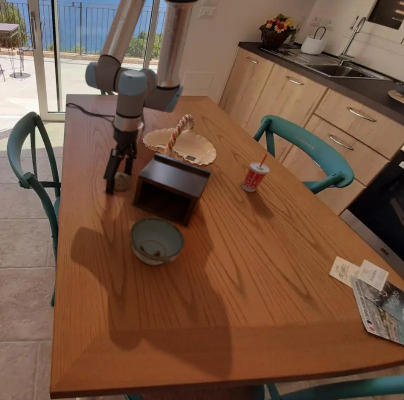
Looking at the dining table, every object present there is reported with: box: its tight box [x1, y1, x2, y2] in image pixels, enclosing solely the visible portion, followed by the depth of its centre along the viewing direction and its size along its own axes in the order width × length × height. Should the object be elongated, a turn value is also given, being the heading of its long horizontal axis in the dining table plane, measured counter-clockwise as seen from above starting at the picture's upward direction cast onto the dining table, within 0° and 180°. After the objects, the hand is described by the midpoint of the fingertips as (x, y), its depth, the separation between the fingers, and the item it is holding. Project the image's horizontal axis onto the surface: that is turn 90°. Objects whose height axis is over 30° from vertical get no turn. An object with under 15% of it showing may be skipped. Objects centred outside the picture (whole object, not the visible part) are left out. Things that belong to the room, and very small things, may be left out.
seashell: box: [114, 171, 132, 192], centre depth 94 cm, size 8×6×8 cm
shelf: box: [132, 152, 212, 228], centre depth 83 cm, size 18×13×13 cm
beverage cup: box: [241, 153, 270, 193], centre depth 92 cm, size 6×6×14 cm
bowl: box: [129, 216, 186, 267], centre depth 69 cm, size 14×13×8 cm
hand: (118, 183), depth 95 cm, fingers open, 13 cm apart
